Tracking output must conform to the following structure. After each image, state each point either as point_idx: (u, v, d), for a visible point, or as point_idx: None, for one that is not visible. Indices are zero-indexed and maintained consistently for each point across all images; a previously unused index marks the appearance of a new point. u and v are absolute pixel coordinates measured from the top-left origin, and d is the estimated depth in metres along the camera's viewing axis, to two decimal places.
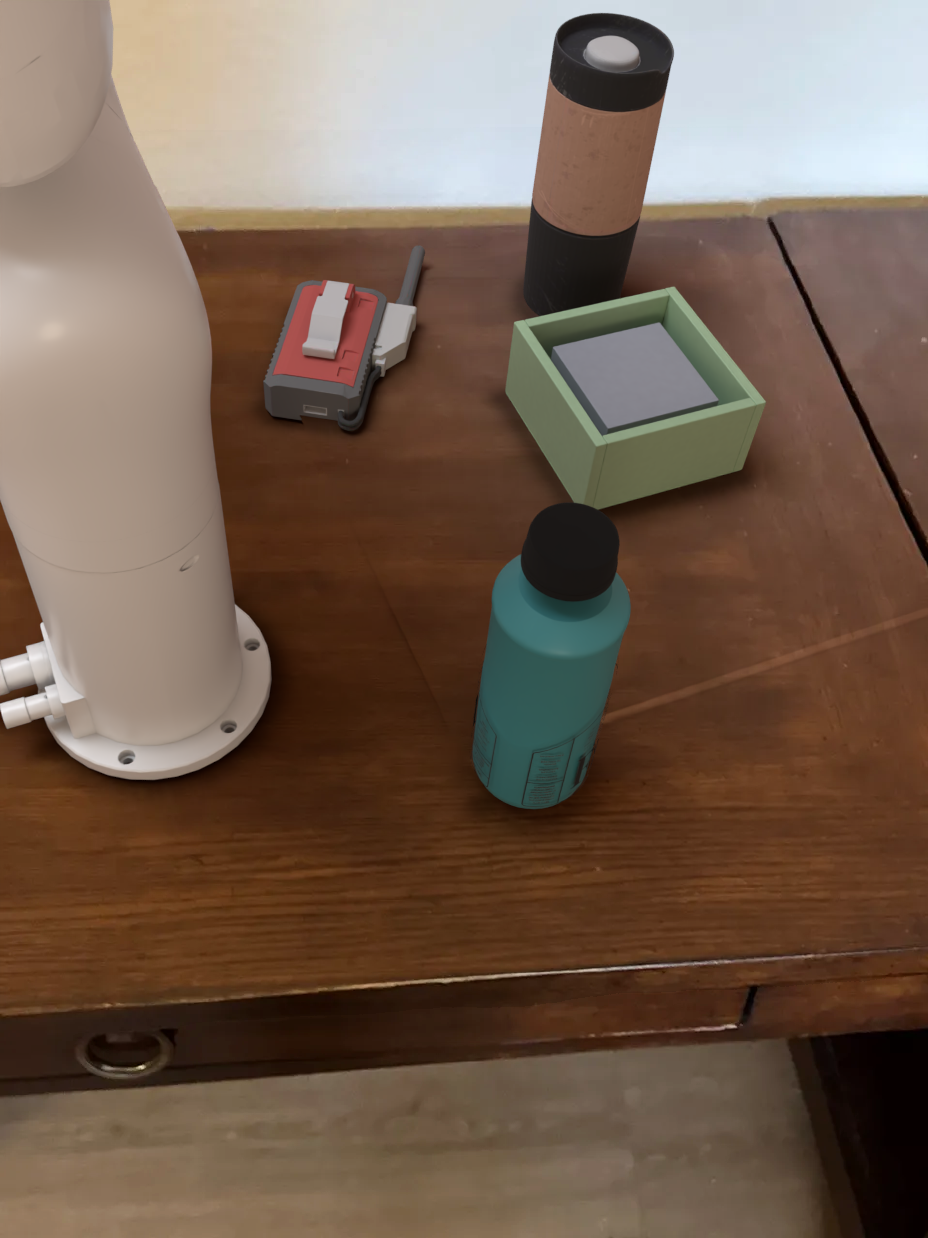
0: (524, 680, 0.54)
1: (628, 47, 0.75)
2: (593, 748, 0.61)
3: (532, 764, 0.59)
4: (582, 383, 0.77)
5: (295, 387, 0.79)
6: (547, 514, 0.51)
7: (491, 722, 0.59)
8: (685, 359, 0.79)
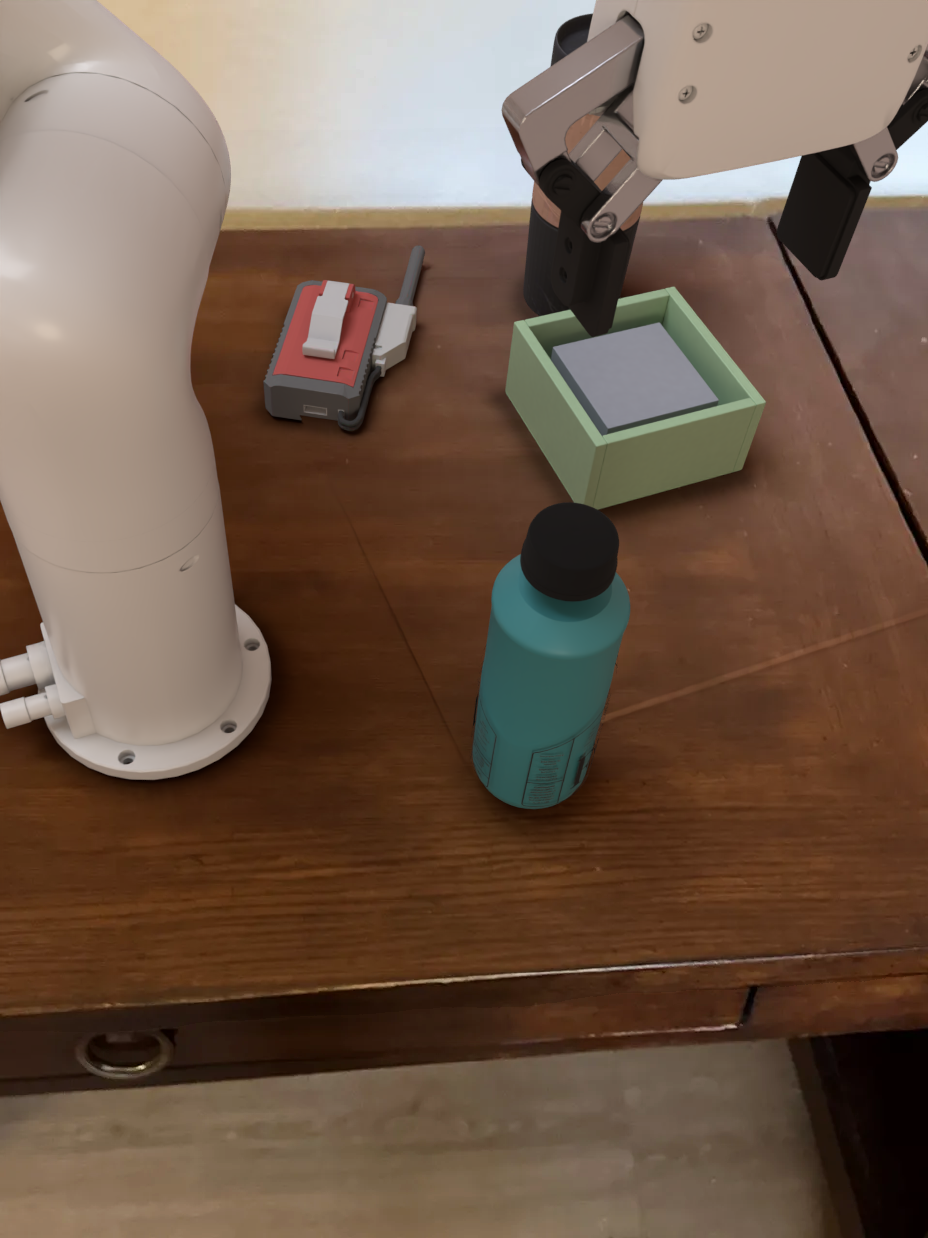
0: (523, 680, 0.54)
1: None
2: (593, 748, 0.61)
3: (532, 764, 0.59)
4: (582, 383, 0.77)
5: (295, 387, 0.79)
6: (547, 514, 0.51)
7: (491, 722, 0.59)
8: (685, 359, 0.79)
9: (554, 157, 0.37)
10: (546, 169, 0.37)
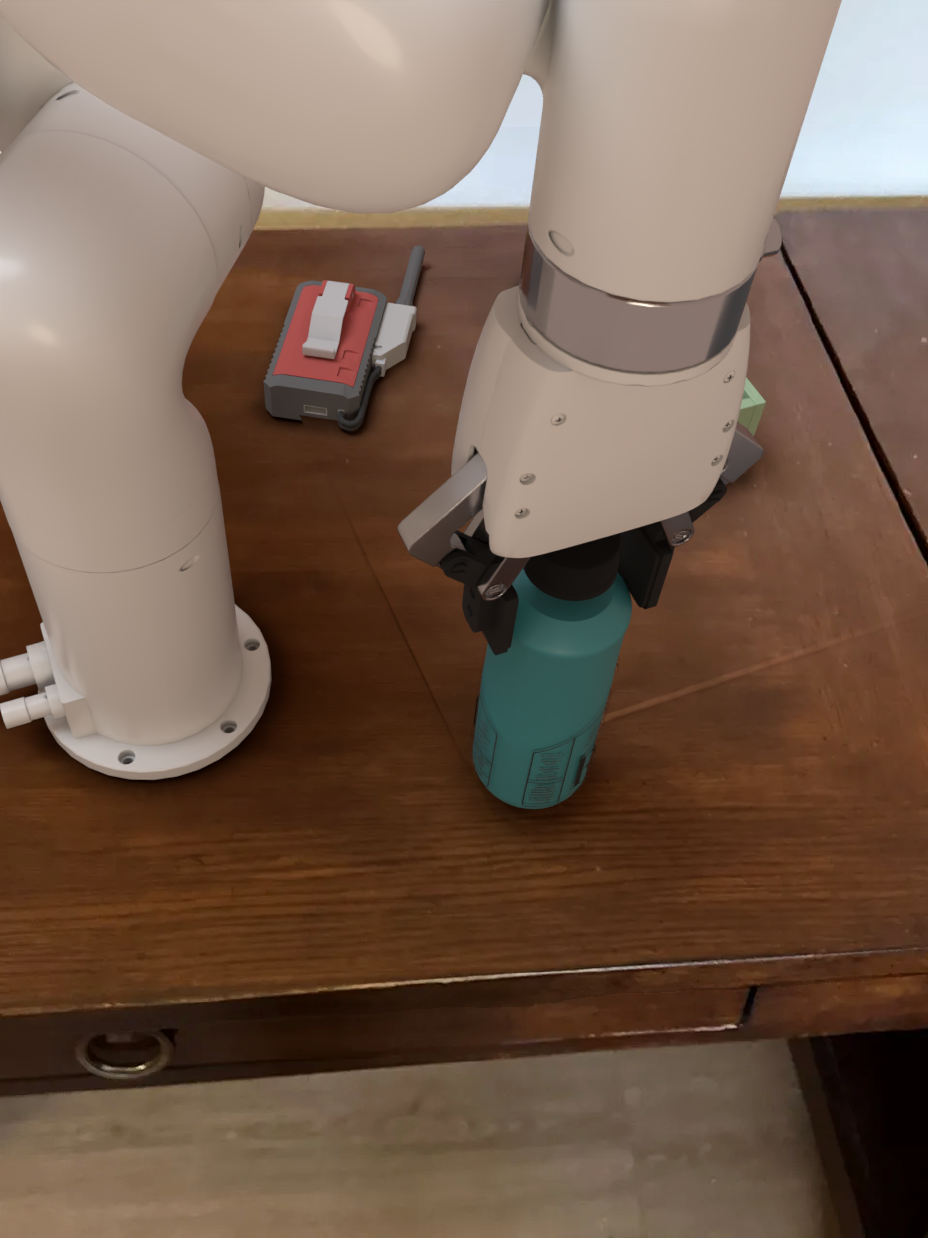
0: (525, 679, 0.54)
1: None
2: (593, 748, 0.61)
3: (532, 764, 0.59)
4: None
5: (295, 388, 0.79)
6: None
7: (492, 722, 0.59)
8: None
9: (446, 555, 0.47)
10: (443, 562, 0.47)
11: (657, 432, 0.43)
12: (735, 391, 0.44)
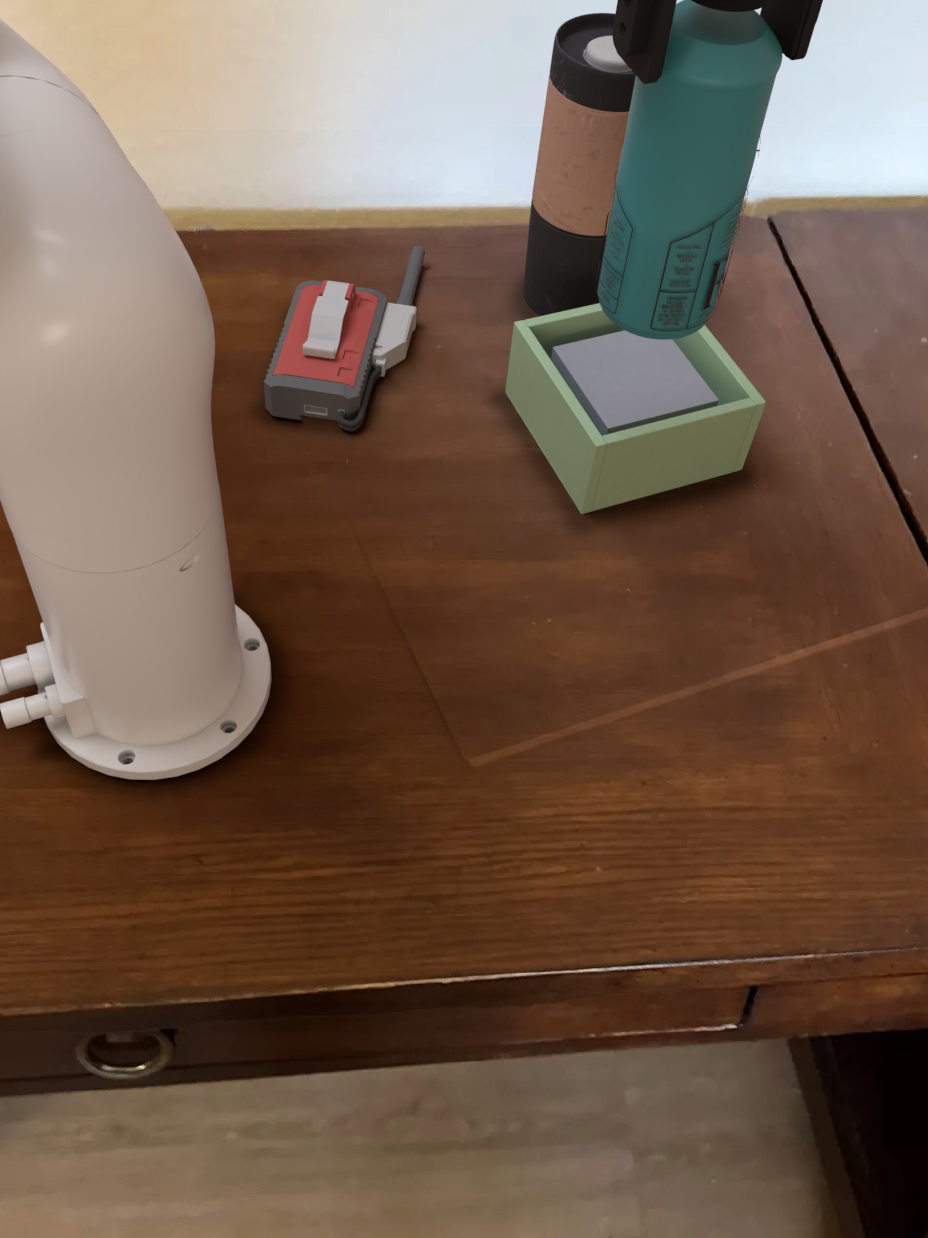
0: (671, 130, 0.54)
1: None
2: (727, 257, 0.60)
3: (667, 263, 0.59)
4: (582, 383, 0.77)
5: (296, 388, 0.79)
6: None
7: (627, 216, 0.58)
8: (685, 359, 0.79)
9: None
10: None
11: None
12: None
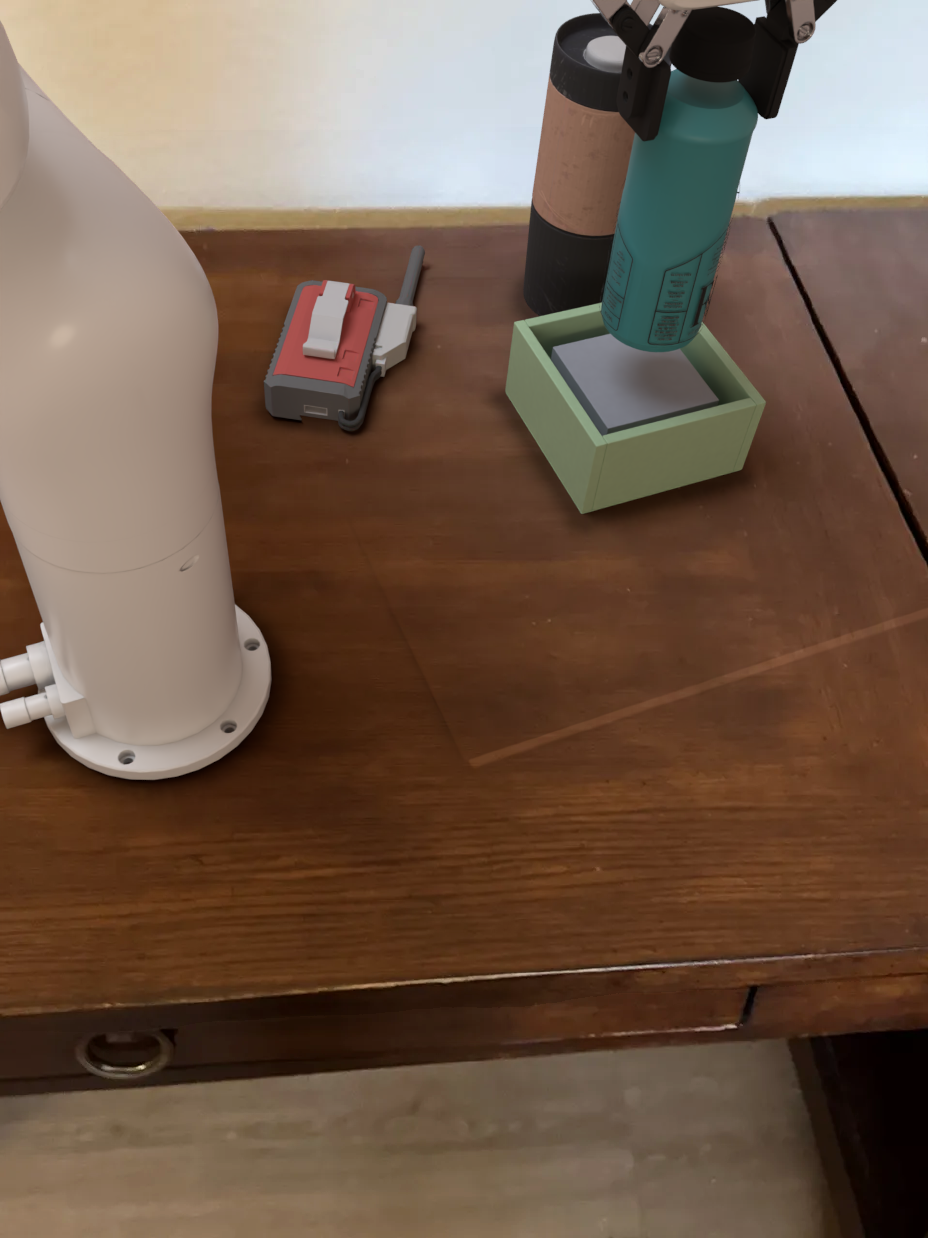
0: (666, 178, 0.64)
1: None
2: (713, 282, 0.70)
3: (662, 288, 0.69)
4: (582, 383, 0.77)
5: (296, 388, 0.79)
6: (694, 10, 0.60)
7: (628, 248, 0.68)
8: (685, 359, 0.79)
9: (619, 7, 0.56)
10: (615, 16, 0.57)
11: None
12: None
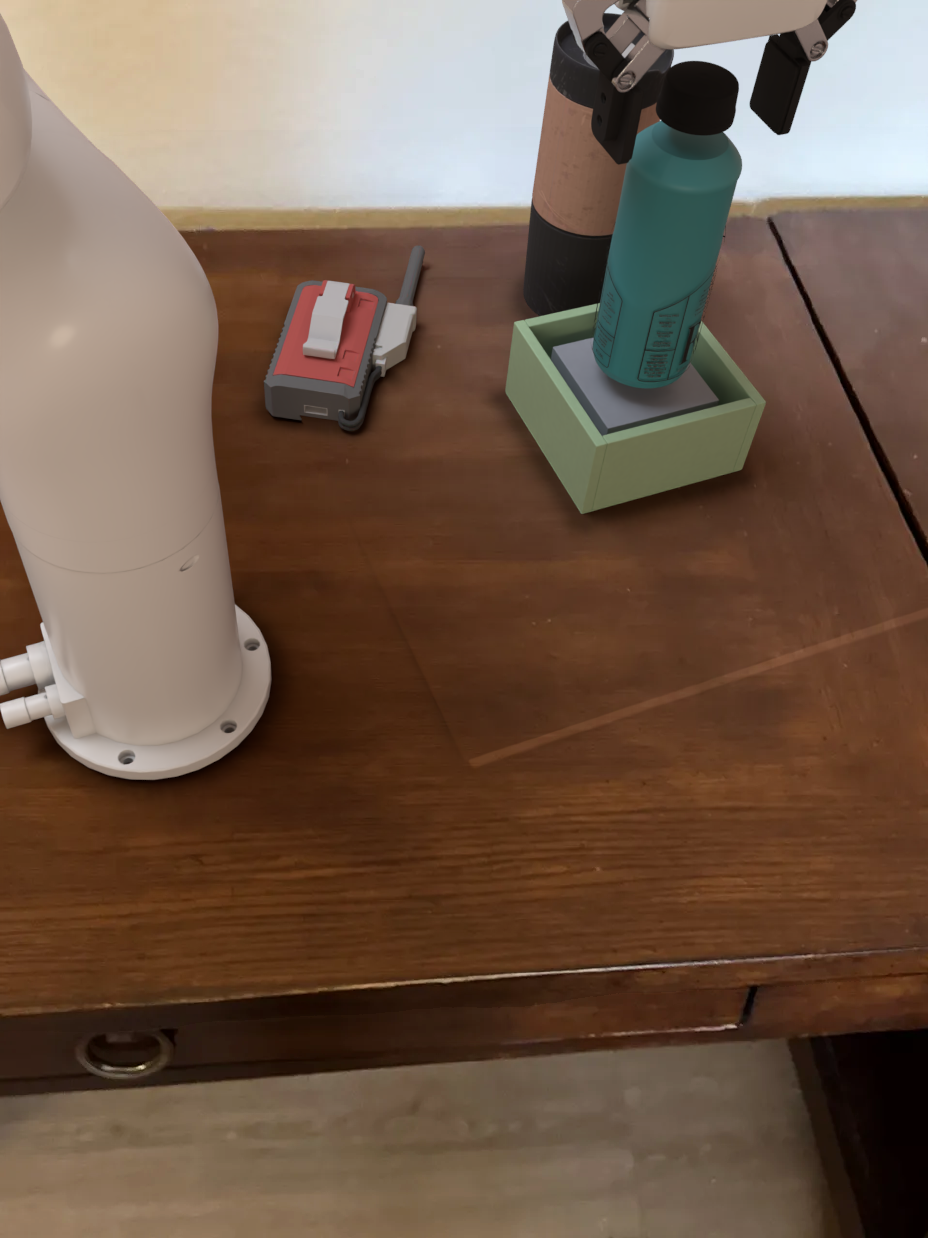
0: (653, 225, 0.66)
1: (628, 47, 0.75)
2: (700, 321, 0.72)
3: (651, 328, 0.71)
4: (582, 383, 0.77)
5: (296, 388, 0.79)
6: (679, 66, 0.63)
7: (618, 289, 0.71)
8: None
9: (595, 31, 0.57)
10: (589, 39, 0.57)
11: None
12: None
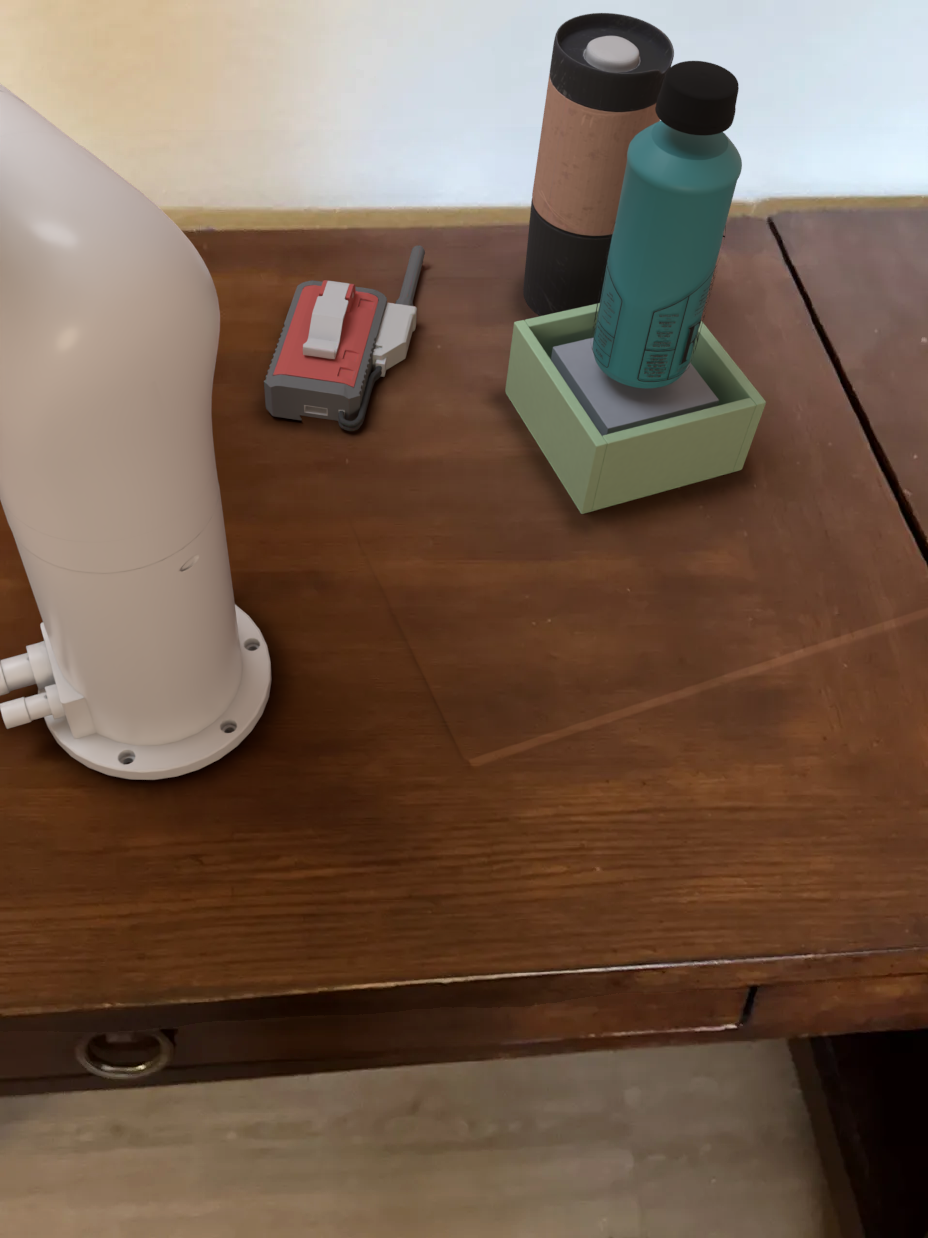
0: (653, 225, 0.66)
1: (628, 47, 0.75)
2: (700, 321, 0.72)
3: (651, 328, 0.71)
4: (582, 383, 0.77)
5: (296, 388, 0.79)
6: (679, 66, 0.63)
7: (617, 289, 0.71)
8: None
9: None
10: None
11: None
12: None
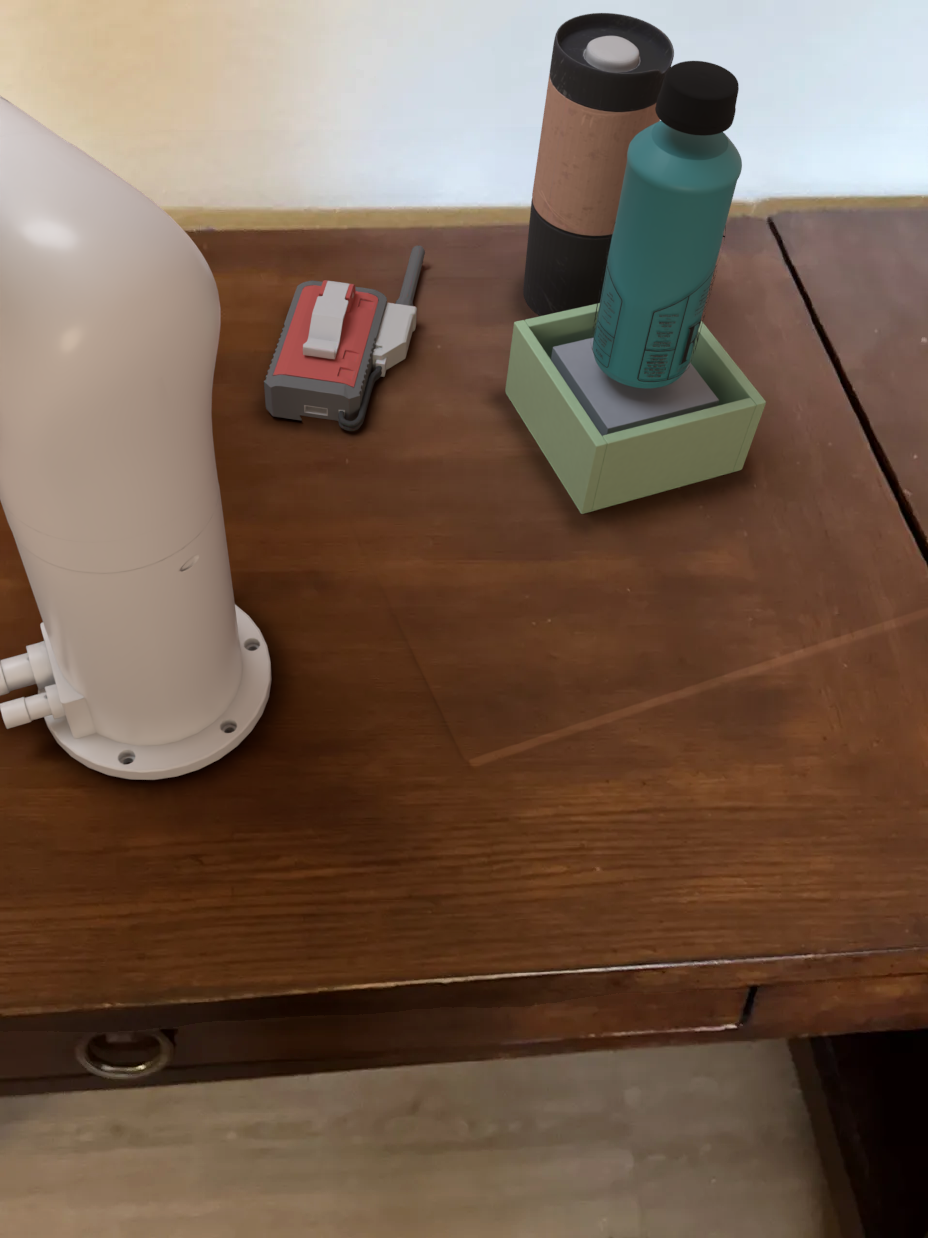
0: (653, 225, 0.66)
1: (628, 47, 0.75)
2: (700, 321, 0.72)
3: (651, 328, 0.71)
4: (582, 383, 0.77)
5: (296, 388, 0.79)
6: (679, 66, 0.63)
7: (617, 289, 0.71)
8: None
9: None
10: None
11: None
12: None
